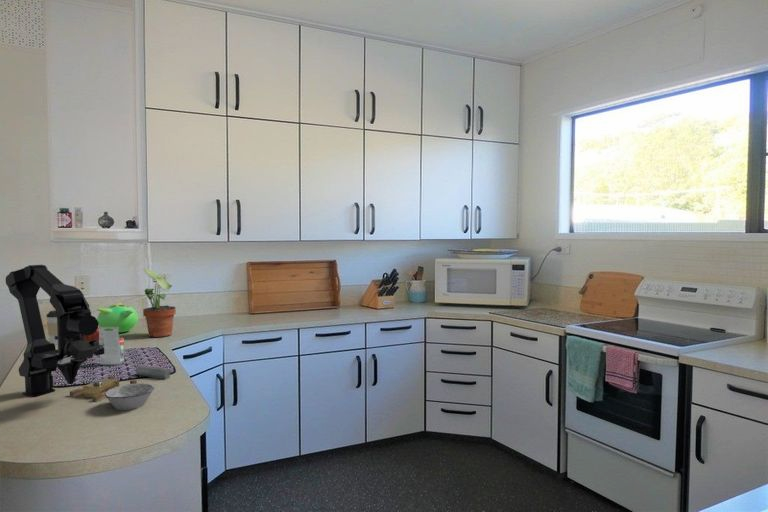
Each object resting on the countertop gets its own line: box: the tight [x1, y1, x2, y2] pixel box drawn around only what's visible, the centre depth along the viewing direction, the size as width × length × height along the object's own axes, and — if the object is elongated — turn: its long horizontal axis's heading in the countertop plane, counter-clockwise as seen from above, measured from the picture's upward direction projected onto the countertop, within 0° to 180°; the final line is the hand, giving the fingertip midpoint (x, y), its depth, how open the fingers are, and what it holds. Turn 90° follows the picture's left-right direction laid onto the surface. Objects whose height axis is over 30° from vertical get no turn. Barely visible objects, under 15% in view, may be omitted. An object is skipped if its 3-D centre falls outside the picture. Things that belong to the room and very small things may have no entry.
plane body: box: [69, 375, 138, 402], centre depth 159 cm, size 14×12×2 cm
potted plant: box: [142, 268, 177, 338], centre depth 241 cm, size 16×15×35 cm
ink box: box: [98, 326, 125, 366], centre depth 192 cm, size 4×8×15 cm, turn 90°
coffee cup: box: [46, 309, 58, 346], centre depth 228 cm, size 9×9×15 cm
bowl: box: [105, 382, 155, 411], centre depth 147 cm, size 13×13×5 cm
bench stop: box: [135, 364, 171, 380], centre depth 176 cm, size 2×14×3 cm, turn 65°
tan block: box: [82, 378, 120, 398], centre depth 158 cm, size 8×6×4 cm
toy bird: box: [96, 302, 139, 334], centre depth 250 cm, size 18×17×15 cm
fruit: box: [83, 327, 99, 342], centre depth 223 cm, size 8×8×10 cm
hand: (70, 383), depth 149 cm, fingers closed
